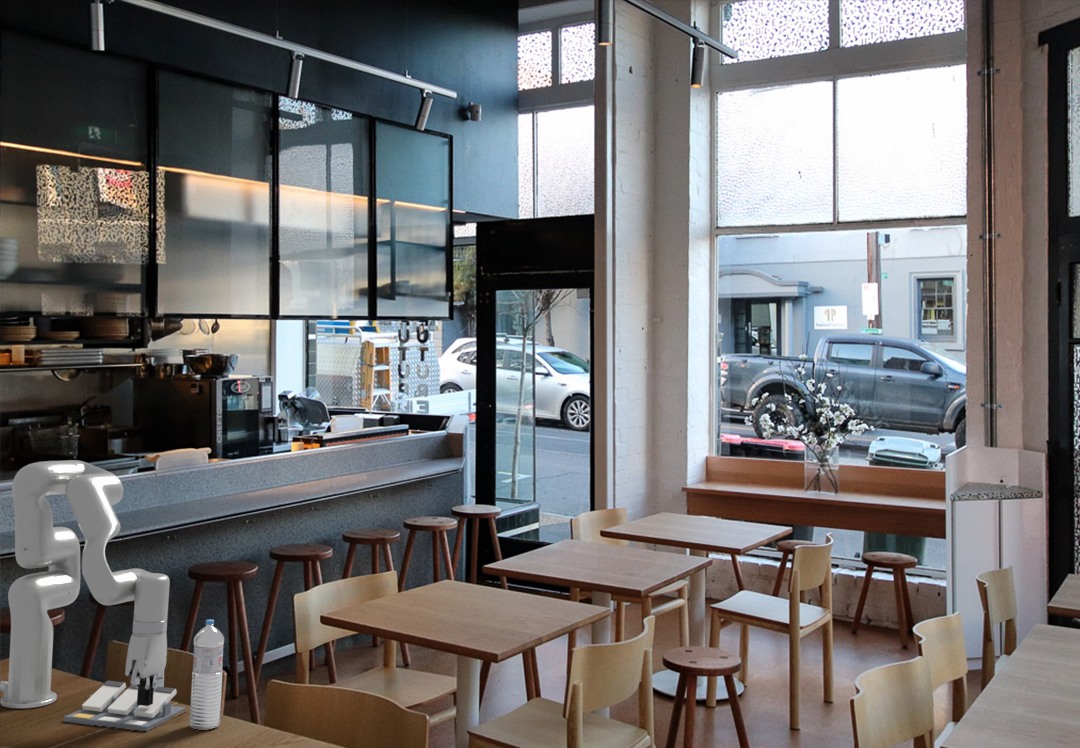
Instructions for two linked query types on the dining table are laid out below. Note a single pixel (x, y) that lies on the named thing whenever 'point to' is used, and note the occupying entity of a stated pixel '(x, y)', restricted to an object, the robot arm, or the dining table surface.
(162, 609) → the robot arm
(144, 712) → the switch
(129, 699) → the switch mid
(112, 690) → the switch
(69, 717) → the console
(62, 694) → the dining table surface
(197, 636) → the water bottle
